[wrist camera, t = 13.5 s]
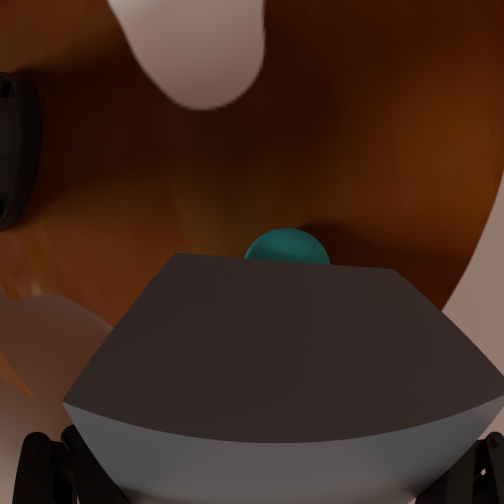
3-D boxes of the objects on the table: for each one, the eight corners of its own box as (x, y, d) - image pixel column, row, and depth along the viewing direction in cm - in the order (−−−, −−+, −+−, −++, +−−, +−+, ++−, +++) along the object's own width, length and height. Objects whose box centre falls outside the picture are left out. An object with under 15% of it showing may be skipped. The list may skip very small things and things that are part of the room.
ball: (236, 267, 12) (241, 212, 16) (243, 335, 15) (245, 276, 19) (348, 265, 12) (326, 211, 16) (330, 332, 15) (317, 275, 19)
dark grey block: (175, 252, 12) (61, 401, 4) (393, 269, 12) (515, 389, 4) (185, 406, 15) (157, 528, 7) (343, 412, 15) (374, 525, 7)
